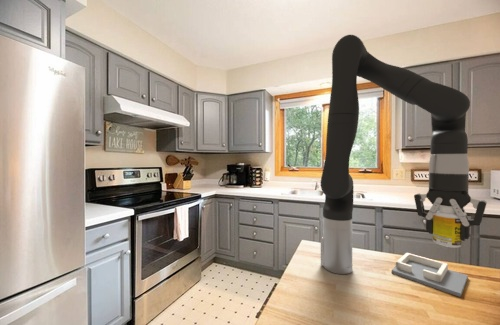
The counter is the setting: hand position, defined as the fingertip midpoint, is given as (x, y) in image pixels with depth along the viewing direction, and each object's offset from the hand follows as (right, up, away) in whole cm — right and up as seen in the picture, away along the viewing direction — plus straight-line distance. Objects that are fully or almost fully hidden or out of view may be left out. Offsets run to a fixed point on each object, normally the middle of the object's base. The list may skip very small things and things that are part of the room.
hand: (446, 236), depth 56 cm
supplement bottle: (0, -2, 0) cm, 2 cm away
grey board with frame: (+5, -16, +12) cm, 21 cm away
